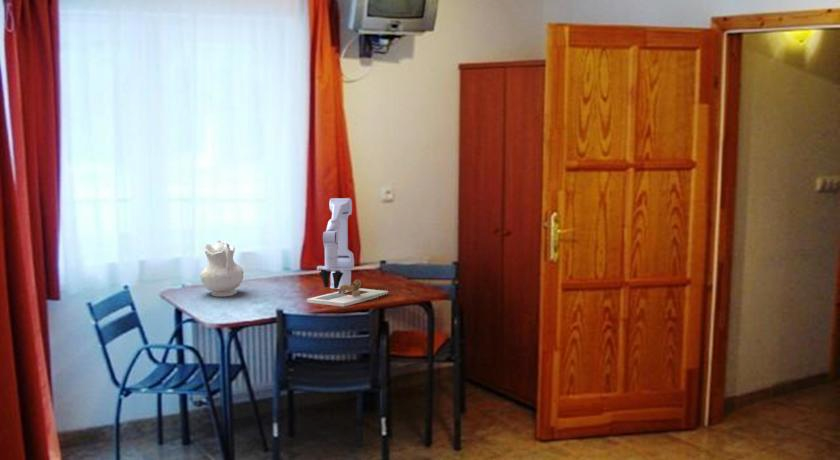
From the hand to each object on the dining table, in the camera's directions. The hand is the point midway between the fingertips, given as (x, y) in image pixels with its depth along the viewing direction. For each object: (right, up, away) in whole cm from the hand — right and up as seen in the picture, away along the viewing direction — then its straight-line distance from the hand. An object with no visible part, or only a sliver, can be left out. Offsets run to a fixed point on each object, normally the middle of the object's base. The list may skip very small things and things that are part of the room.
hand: (331, 287), depth 358 cm
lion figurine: (+7, -5, +12) cm, 14 cm away
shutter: (+17, -4, +5) cm, 18 cm away
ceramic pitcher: (-51, -5, +12) cm, 53 cm away
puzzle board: (+8, -5, +5) cm, 11 cm away
